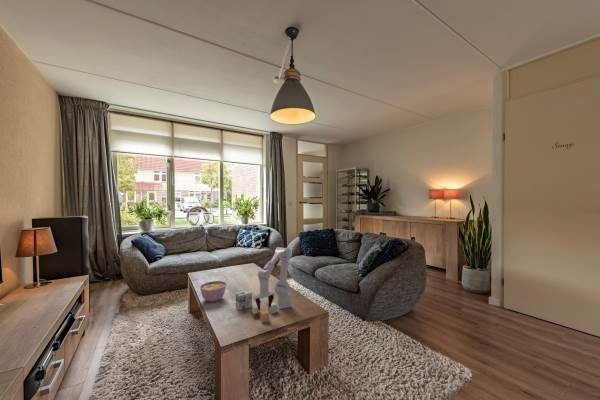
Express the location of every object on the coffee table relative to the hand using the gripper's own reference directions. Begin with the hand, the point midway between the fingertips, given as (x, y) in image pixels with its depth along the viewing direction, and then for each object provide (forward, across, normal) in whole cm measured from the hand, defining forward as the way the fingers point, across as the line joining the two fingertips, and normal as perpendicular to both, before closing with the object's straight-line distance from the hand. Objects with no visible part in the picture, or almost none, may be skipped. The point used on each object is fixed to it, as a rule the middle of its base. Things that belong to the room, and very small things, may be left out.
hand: (264, 308), depth 160 cm
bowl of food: (+8, +22, -51) cm, 57 cm away
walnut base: (+8, +1, -9) cm, 12 cm away
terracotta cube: (+8, 0, 0) cm, 8 cm away
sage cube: (+8, -10, -8) cm, 15 cm away
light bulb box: (+8, +5, -26) cm, 28 cm away
